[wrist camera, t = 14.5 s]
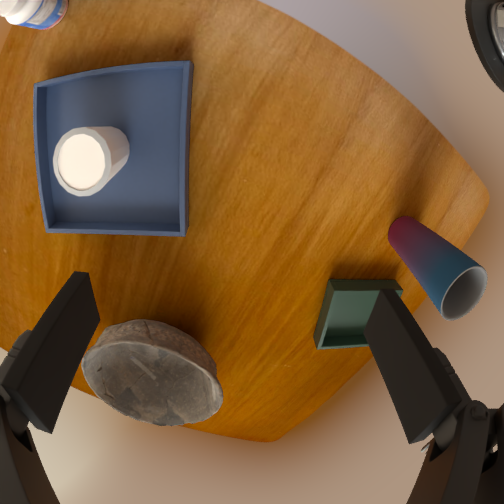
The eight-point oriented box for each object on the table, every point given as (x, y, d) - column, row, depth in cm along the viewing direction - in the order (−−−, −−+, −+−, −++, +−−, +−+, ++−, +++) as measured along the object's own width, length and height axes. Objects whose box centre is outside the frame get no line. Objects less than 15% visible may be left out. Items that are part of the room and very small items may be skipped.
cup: (404, 199, 35) (476, 254, 22) (429, 227, 37) (493, 284, 24) (373, 237, 37) (430, 306, 24) (400, 261, 39) (454, 328, 26)
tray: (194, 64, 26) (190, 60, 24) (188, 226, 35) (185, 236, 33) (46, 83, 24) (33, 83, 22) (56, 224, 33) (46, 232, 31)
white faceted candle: (139, 124, 28) (115, 130, 22) (130, 182, 31) (107, 202, 25) (86, 118, 27) (55, 125, 21) (80, 174, 30) (51, 192, 24)
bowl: (117, 269, 37) (90, 316, 28) (247, 326, 43) (251, 378, 34) (92, 353, 45) (75, 396, 36) (194, 393, 51) (190, 437, 42)
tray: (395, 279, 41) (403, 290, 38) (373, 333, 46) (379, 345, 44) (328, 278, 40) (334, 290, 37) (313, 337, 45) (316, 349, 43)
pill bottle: (31, 18, 19) (-14, 8, 10) (59, -12, 18) (18, -31, 9) (46, 38, 21) (-2, 29, 13) (75, 7, 20) (33, -12, 11)
